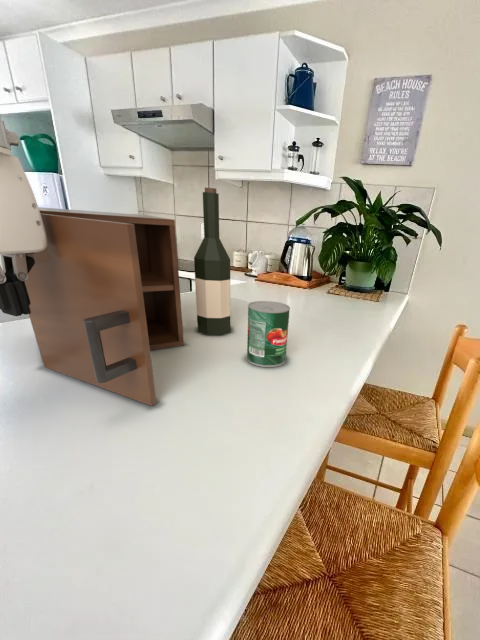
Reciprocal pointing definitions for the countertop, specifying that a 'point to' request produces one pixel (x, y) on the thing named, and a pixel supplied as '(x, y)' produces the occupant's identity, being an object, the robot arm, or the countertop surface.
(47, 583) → the countertop surface
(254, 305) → the canned tomato
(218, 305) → the wine bottle
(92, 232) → the cupboard door
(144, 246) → the cupboard
